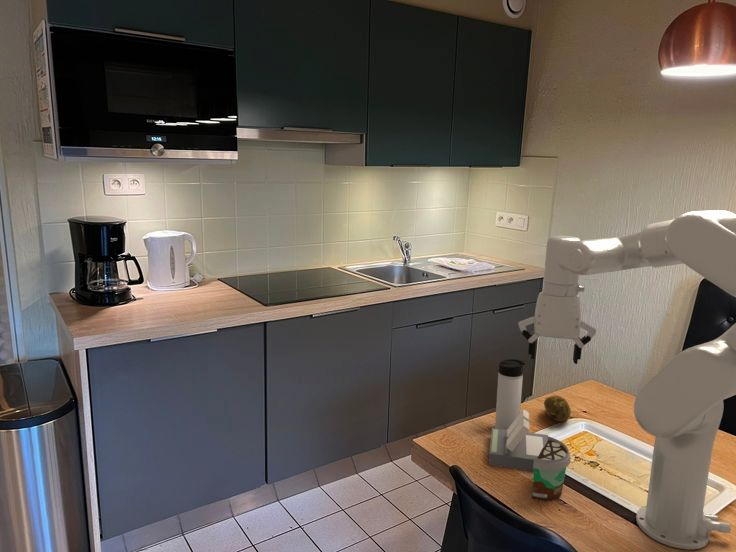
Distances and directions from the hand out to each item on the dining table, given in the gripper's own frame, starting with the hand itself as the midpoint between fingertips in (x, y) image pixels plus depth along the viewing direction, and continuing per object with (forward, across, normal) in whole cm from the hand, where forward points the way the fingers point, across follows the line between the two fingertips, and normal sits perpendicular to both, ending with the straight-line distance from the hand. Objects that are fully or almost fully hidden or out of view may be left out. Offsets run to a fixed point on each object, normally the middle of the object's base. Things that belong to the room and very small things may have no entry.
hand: (553, 359), depth 129 cm
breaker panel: (+25, +6, +1) cm, 26 cm away
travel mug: (+26, +9, -11) cm, 29 cm away
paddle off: (+22, +9, +6) cm, 24 cm away
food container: (+25, -1, +16) cm, 30 cm away
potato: (+26, -4, -22) cm, 34 cm away
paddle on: (+22, +9, 0) cm, 23 cm away
